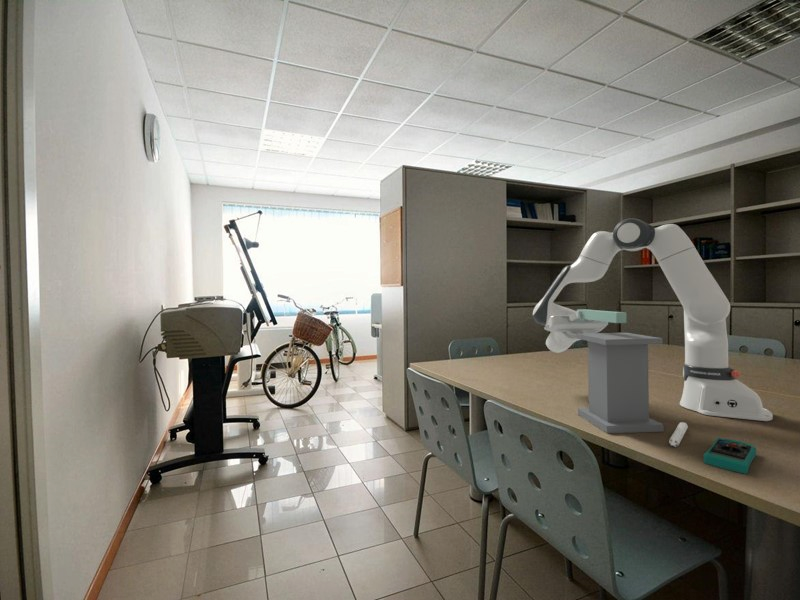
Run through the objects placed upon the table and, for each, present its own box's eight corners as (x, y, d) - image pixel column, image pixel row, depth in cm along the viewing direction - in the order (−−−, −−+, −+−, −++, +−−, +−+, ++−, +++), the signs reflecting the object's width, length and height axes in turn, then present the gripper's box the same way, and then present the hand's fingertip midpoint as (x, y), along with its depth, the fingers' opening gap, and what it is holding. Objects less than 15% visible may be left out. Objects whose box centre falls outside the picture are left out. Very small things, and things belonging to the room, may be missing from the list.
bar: (576, 318, 130) (576, 309, 130) (585, 317, 130) (585, 309, 130) (616, 323, 107) (616, 312, 107) (626, 322, 107) (626, 312, 107)
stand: (577, 414, 118) (576, 333, 118) (627, 413, 118) (625, 332, 118) (606, 433, 102) (605, 339, 102) (663, 431, 102) (662, 338, 102)
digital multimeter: (756, 456, 87) (756, 443, 87) (747, 477, 78) (746, 463, 78) (716, 446, 93) (716, 435, 93) (702, 465, 83) (702, 452, 83)
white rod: (678, 450, 91) (677, 440, 91) (667, 448, 92) (667, 438, 92) (688, 430, 104) (687, 421, 104) (678, 428, 105) (678, 420, 105)
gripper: (540, 322, 140) (554, 305, 128) (593, 321, 140) (612, 304, 128) (544, 338, 137) (558, 321, 125) (598, 336, 137) (618, 320, 125)
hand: (586, 312), depth 127 cm, fingers closed on bar, 3 cm apart
